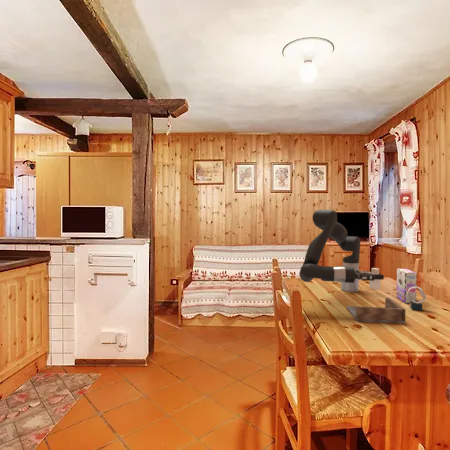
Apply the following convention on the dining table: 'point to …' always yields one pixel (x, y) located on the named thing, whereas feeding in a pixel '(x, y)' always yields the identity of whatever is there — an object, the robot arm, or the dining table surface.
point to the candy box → (406, 285)
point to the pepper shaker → (376, 283)
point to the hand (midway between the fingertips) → (381, 276)
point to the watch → (413, 304)
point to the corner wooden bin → (379, 313)
